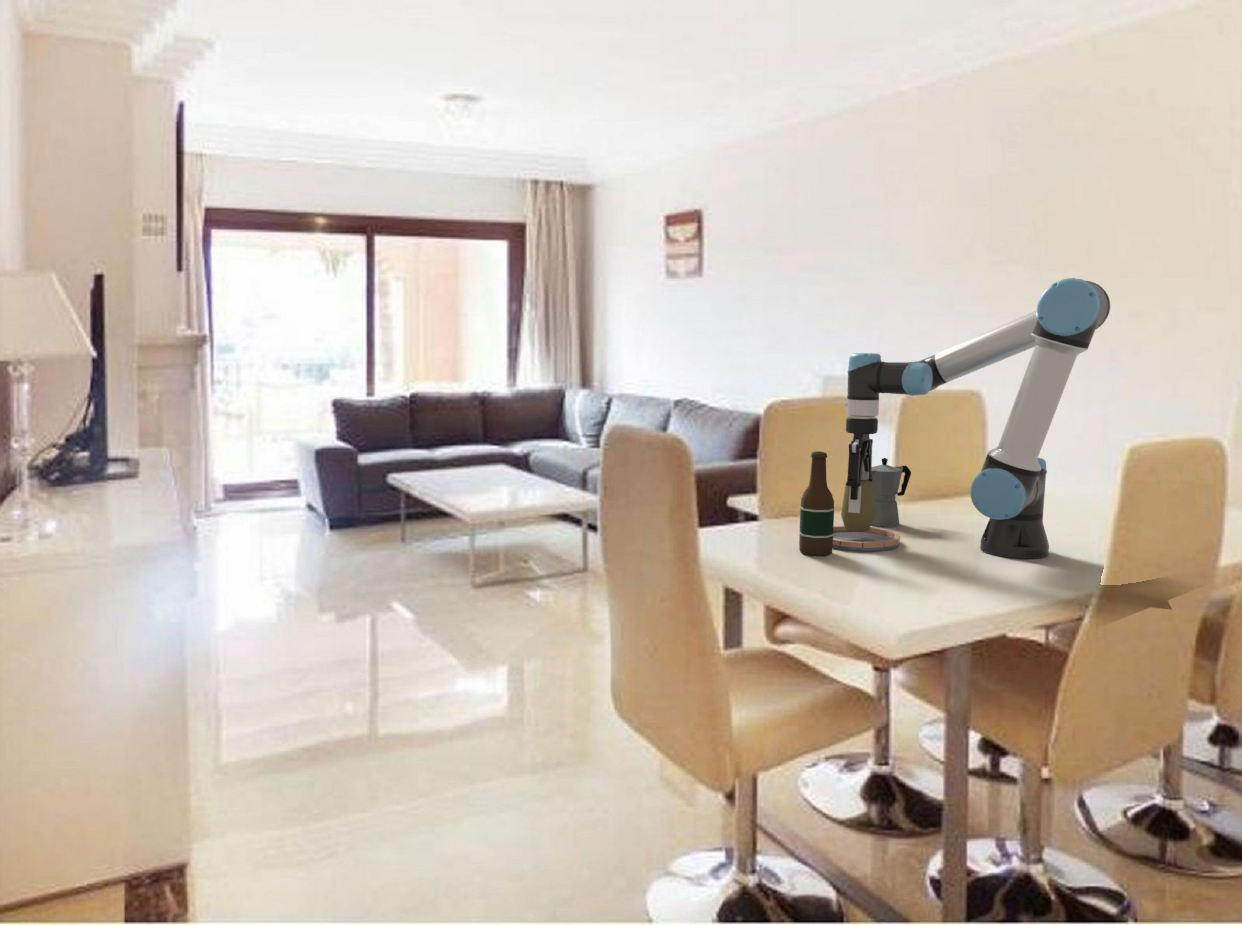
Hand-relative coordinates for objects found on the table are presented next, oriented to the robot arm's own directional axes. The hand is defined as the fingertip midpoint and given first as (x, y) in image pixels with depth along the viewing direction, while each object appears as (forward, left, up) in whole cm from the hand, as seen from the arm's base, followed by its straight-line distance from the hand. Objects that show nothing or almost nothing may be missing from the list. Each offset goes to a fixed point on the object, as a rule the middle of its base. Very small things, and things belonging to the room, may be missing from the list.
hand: (858, 510), depth 239 cm
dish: (0, 0, -8) cm, 8 cm away
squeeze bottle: (0, 0, -5) cm, 5 cm away
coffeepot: (+10, -25, -8) cm, 28 cm away
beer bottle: (-1, +17, -8) cm, 19 cm away
